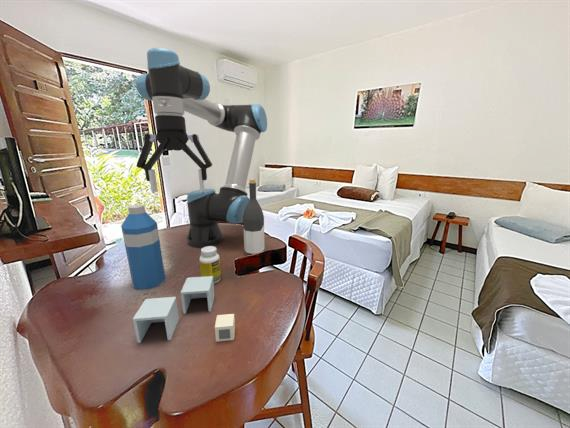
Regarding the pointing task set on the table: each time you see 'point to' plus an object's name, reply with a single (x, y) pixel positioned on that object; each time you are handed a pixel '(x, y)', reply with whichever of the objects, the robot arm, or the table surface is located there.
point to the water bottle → (143, 248)
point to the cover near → (156, 316)
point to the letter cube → (225, 327)
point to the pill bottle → (210, 263)
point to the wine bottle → (253, 223)
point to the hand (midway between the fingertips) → (178, 191)
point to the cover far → (197, 291)
